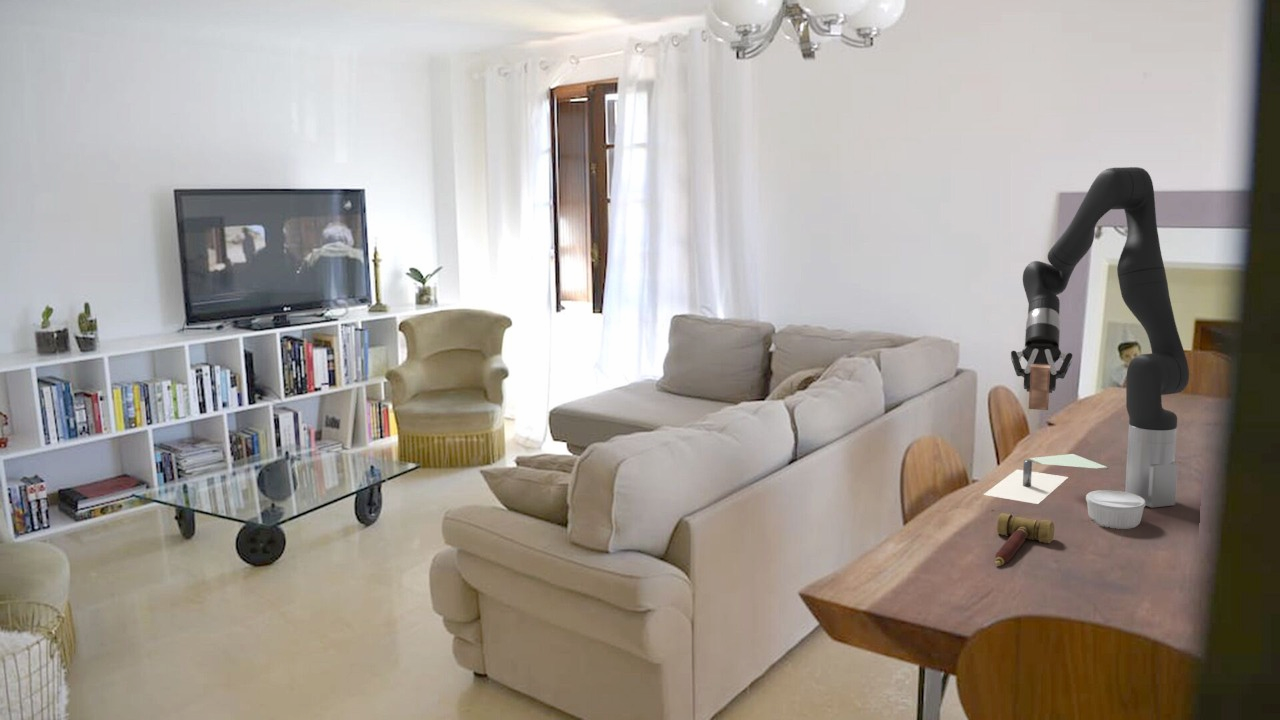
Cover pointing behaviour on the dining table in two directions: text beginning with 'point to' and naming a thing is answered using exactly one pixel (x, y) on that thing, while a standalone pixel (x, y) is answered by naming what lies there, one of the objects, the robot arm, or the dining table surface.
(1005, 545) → the gavel
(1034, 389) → the tan recessed-panel box
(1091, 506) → the ramekin
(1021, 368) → the robot arm
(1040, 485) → the hook board
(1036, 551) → the dining table surface
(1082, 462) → the mat
